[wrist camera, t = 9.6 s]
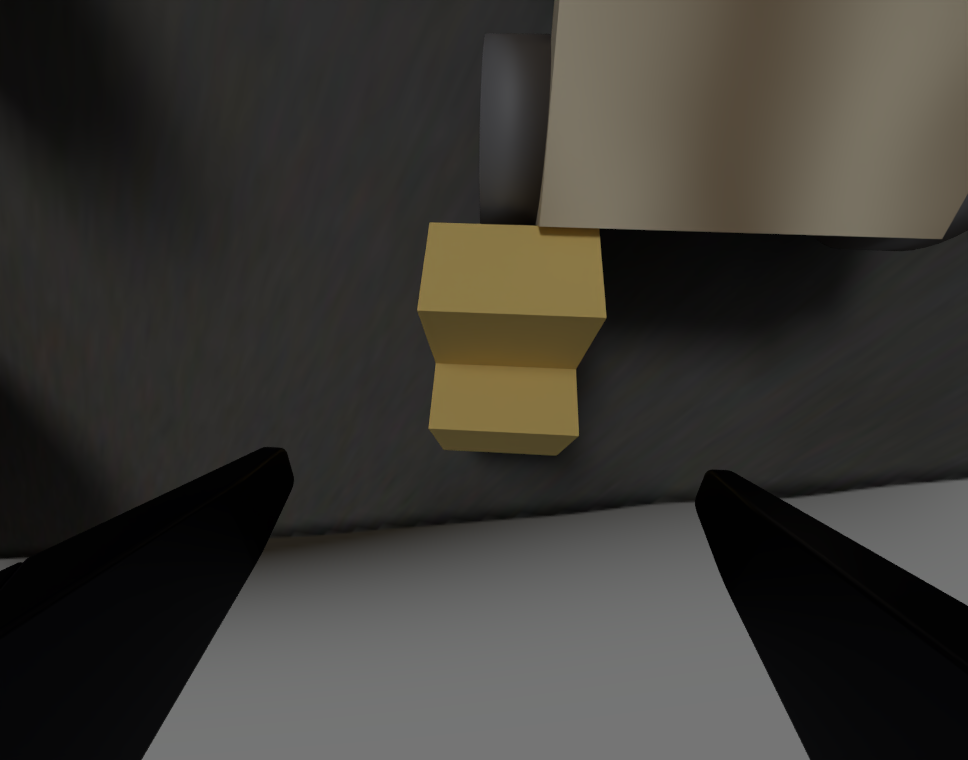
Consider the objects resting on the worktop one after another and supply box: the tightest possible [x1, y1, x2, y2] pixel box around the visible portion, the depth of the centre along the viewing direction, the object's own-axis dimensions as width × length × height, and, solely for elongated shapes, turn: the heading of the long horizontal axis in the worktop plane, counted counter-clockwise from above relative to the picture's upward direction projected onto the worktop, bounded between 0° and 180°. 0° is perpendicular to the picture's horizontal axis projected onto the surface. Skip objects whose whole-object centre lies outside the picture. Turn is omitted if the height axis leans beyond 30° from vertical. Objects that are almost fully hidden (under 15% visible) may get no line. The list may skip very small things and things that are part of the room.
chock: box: [417, 223, 607, 456], centre depth 12 cm, size 5×7×5 cm
